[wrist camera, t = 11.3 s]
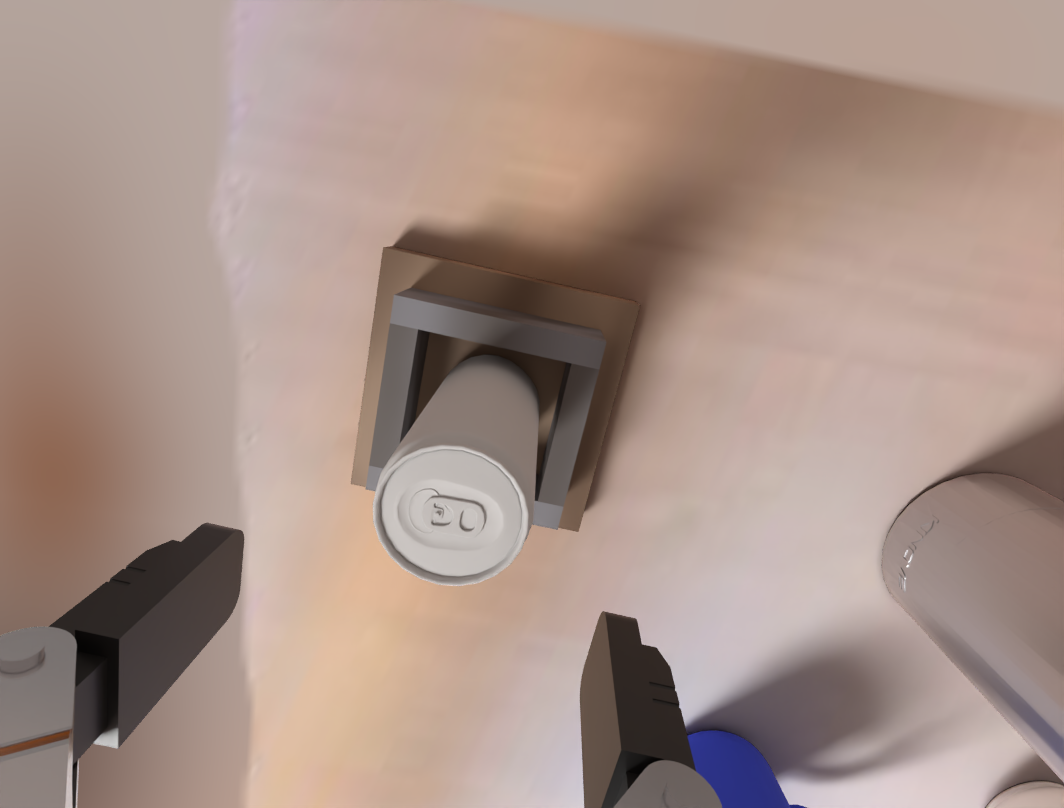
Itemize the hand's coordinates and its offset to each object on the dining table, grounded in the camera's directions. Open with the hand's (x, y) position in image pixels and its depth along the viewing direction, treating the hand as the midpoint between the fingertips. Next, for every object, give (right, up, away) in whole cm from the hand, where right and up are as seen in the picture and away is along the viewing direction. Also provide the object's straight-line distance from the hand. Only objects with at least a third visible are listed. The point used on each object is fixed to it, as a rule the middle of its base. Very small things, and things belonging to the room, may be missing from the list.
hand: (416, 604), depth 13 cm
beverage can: (+1, +5, +16) cm, 16 cm away
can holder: (0, +5, +17) cm, 18 cm away
